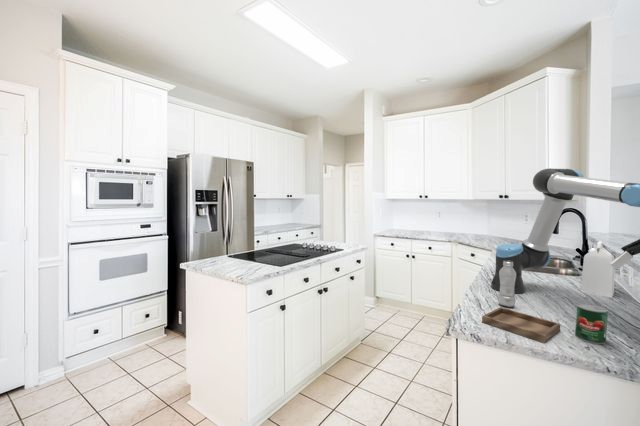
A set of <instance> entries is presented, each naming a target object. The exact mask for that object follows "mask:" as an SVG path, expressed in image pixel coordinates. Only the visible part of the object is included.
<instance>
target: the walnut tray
mask: <svg viewBox="0 0 640 426" xmlns="http://www.w3.org/2000/svg"><path fill="white" fill-rule="evenodd" d="M481 318H482V319H481V323H482V324H486V325H489V326H491V327H495V328H497V329H500V330H504V331H507V332H509V333H513V334H515V335H518V336H521V337H524V338H528V339H531V340H533V341H537V342H540V343H542V344H546V343H547V342H548V341H549V340H550V339H551V340H552V338H553V337H554V336H556V335H557V334H558V333H560V331H561V323H559V322H556V321H552V320H547V319H544V318H542V317H541V318H540V317H537V316H533V315H531V314H527V313H523V312H520V311H515V310H512V309H509V308H507V307H506V308H505V307H497V308H496V309H494V310H492V311H490V312H488V313H486V314H483V315H482V316H481Z"/></svg>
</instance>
